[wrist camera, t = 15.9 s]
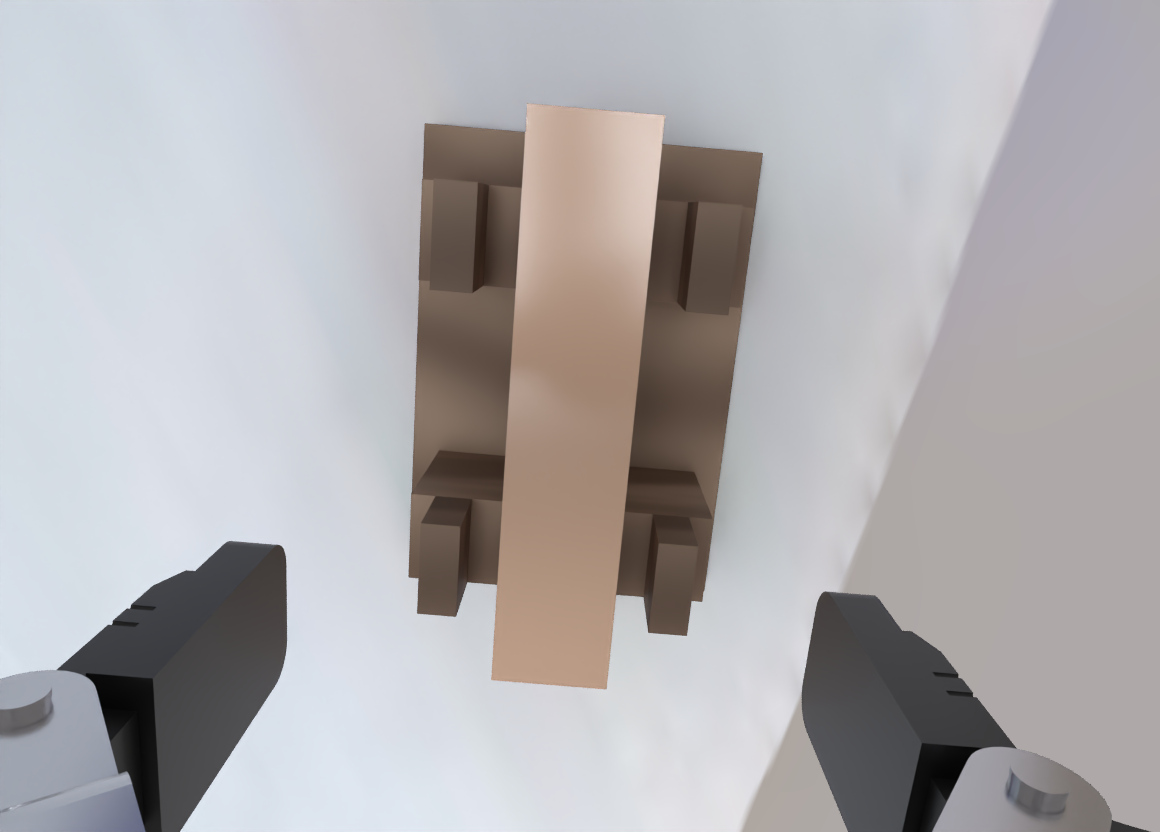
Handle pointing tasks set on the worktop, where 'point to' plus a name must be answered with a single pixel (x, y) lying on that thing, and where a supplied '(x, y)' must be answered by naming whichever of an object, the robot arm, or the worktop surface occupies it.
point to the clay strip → (573, 388)
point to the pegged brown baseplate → (484, 349)
